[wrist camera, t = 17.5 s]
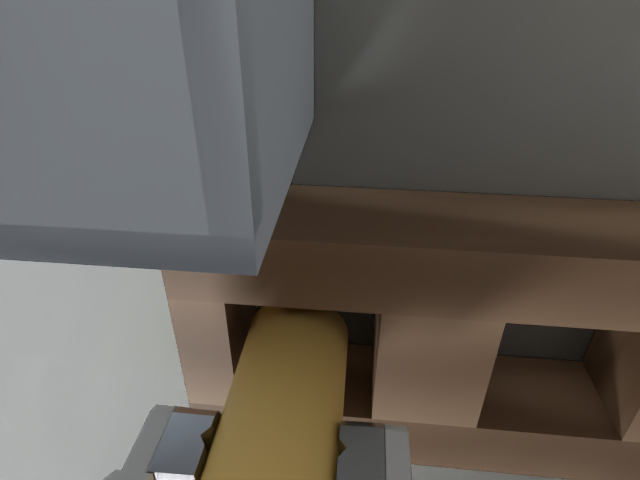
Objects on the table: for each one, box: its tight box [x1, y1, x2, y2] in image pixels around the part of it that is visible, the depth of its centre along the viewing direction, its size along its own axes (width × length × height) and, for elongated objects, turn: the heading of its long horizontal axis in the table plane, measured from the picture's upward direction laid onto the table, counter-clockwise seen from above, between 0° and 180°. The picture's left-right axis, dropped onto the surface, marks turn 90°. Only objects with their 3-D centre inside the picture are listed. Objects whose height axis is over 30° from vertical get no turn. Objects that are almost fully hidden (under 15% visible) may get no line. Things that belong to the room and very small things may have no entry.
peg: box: [200, 306, 348, 480], centre depth 10 cm, size 3×3×8 cm
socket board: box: [161, 184, 640, 480], centre depth 14 cm, size 8×14×3 cm, turn 90°
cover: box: [0, 0, 314, 276], centre depth 8 cm, size 6×9×8 cm, turn 90°
